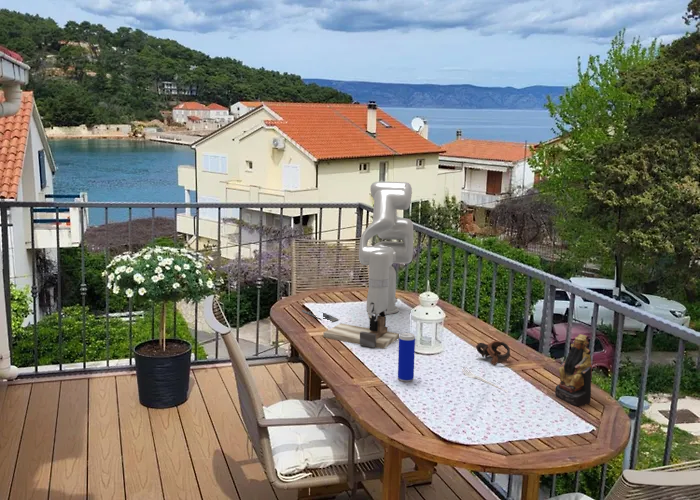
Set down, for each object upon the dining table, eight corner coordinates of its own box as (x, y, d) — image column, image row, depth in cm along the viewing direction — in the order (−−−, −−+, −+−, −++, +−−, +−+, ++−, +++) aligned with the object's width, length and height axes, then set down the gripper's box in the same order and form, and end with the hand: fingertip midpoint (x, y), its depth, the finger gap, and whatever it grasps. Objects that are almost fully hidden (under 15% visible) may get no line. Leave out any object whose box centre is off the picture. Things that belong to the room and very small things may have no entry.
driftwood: (340, 322, 269) (340, 317, 269) (327, 324, 265) (327, 319, 265) (314, 311, 286) (314, 306, 285) (301, 313, 282) (301, 309, 282)
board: (341, 328, 259) (341, 323, 259) (399, 338, 247) (399, 333, 247) (323, 337, 247) (323, 332, 247) (383, 348, 235) (383, 343, 234)
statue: (551, 394, 196) (555, 332, 193) (572, 391, 199) (577, 330, 195) (577, 410, 185) (582, 344, 181) (599, 406, 187) (604, 341, 184)
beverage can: (415, 377, 208) (416, 333, 205) (411, 383, 203) (413, 338, 200) (399, 375, 209) (401, 331, 207) (395, 380, 204) (397, 336, 202)
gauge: (377, 334, 250) (377, 312, 249) (390, 336, 247) (391, 315, 246) (359, 344, 237) (360, 322, 236) (374, 347, 235) (374, 324, 233)
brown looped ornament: (507, 358, 229) (514, 343, 224) (503, 377, 222) (509, 362, 217) (475, 346, 231) (481, 331, 226) (470, 365, 224) (475, 350, 219)
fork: (504, 395, 196) (505, 390, 196) (459, 373, 212) (460, 368, 212) (511, 393, 198) (512, 387, 198) (466, 371, 214) (467, 366, 214)
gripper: (379, 277, 249) (378, 321, 252) (359, 286, 234) (358, 332, 237) (397, 279, 245) (395, 324, 249) (377, 288, 230) (376, 336, 234)
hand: (377, 327), depth 243 cm, fingers open, 6 cm apart
